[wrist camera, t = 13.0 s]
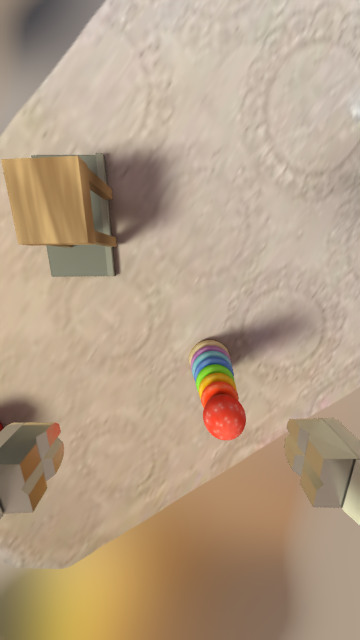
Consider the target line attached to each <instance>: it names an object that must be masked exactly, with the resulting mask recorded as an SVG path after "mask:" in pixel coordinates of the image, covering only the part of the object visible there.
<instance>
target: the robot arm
mask: <svg viewBox="0 0 360 640" xmlns="http://www.w3.org/2000/svg"><path fill="white" fill-rule="evenodd" d="M287 430H288V431H289V433H290V434H289V435H288V436H287V437H286V438H285V445H284V448H285V454H286V458H287V460H288V463H289V465H290V467H291V468H292V470H293V471H294V472H296V473H297V474H298V475H299V476H301V480H300V485H301V486H302V488H303V490H304V492H305V493H306V495H307V497H308V499H309V501H310V502H311V504H312V506H313V507H330V508H331V507H333V508H343V511H345V512H346V513H347V514H348V515H349V516H350V517H351V518H352V519H353V520H354V521H356V522H357V523H358V524H359V525H360V441H359V440H358V439H357V438H356V437H355V436H354V435H353V434H352V433H351V432H350V431H349V430H348V429H347V428H346V427H345V426H344V425H343V424H342V423H341V422H340V421H339V420H337V419H335V418H318V419H317V418H314V419H290V420H289V421H288V423H287ZM60 432H61V430H60V427H59V424H57V423H40V422H27V423H11V424H9V425H7V426H6V427H5V428H4V429H3V430H2V431H0V518H1V517H3V514H10V513H29V512H34V510H35V508H36V506H37V505H38V503H39V501H40V500H41V498H42V496H43V495H44V493H45V491H46V490H47V480H49V479H50V478H51V477H52V476H54V475H55V474H56V472H57V471H58V469H59V467H60V465H61V462H62V459H63V456H64V445H63V442H62V441H61V440H60V439H59V438H58V436H59V434H60Z"/></svg>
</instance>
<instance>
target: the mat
mask: <svg viewBox="0 0 360 640" xmlns="http://www.w3.org/2000/svg"><path fill="white" fill-rule="evenodd" d="M62 156H79V157H80V158H81V159H82V160H83V161H84V162H85V163H86V164H87V167H88V168H89V169H90V170H91V171H92V172H93V173H94V174H95V175H97V176H98V177H99V178H100V179H101V180H102V181H103V182H104V183H105V184H107V177H106V166H105V156H104V155H103V153H96V155H44V156H31V158H41V157H62ZM90 196H91V205H92V214H93V223H94V230H95V231H98V232H101V233H104V234H107V235H110V236H112V233H111V222H110V210H109V200H104V199H102V198H101V197H100V196H98V195H97V194H95V193H94V192H93V191H91V190H90ZM46 246H47V251H48V257H49V263H50V269H51V275H52V277H58V276H115V266H114V255H113V247H107V246H102V245H97V244H89V245H73V247H57V246H49V245H46Z"/></svg>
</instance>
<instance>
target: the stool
mask: <svg viewBox="0 0 360 640" xmlns="http://www.w3.org/2000/svg"><path fill="white" fill-rule="evenodd" d="M1 161H2V166H3V171H4V176H5V181H6V186H7V190H8V195H9V200H10V205H11V210H12V215H13V220H14V225H15V230H16V235H17V239H18V244H22V245H49V246H57V247H73V245H89V244H97V245H102V246H107V247H117V243H116V237H113V236H110V235H107V234H104V233H101V232H98V231H95V230H94V223H93V214H92V205H91V196H90V190H91V191H93V192H94V193H95V194H97V195H98V196H100V197H101V198H102V199H104V200H109V199H113V196H112V189H111V188H110V187H109V186H108V185H107V184H105V183H104V182H103V181H102V180H101V179H100V178H99V177H98V176H97V175H95V174H94V173H93V172H92V171H91V170H90V169H89V168H88V167H87V164H86V163H85V162H84V161H83V160H82V159H81V158H80V157H79V156H62V157H41V158H21V159H1Z"/></svg>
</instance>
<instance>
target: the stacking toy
mask: <svg viewBox="0 0 360 640" xmlns="http://www.w3.org/2000/svg"><path fill="white" fill-rule="evenodd" d="M189 364H190V367H191V371H192V374H193V377H194V379H195V383H196V387H197V390H198V392H199V396H200V398H201V402H202V405H203V407H204V411H203V420H204V423H205V426H206V428H207V430H208V431H209V432H210V433H211V434H212V435H213V436H214V437H216V438H218V439H221V440H232V439H235V438H236V437H238V436H239V435H240V434H241V433H242V431H243V430H244V427H245V423H246V416H245V411H244V409H243V407H242V405H241V404H240V403H239V401H238V394H237V391H236V385H235V383H234V373H233V369H232V364H231V359H230V354H229V352H228V350H227V348H226V347H225V346H224V345H223V344H221V343H220V342H217V341H214V340H206V341H202V342H200V343H198V344H197V345H195V346H194V347H193V349H192V350H191V352H190V355H189Z"/></svg>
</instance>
